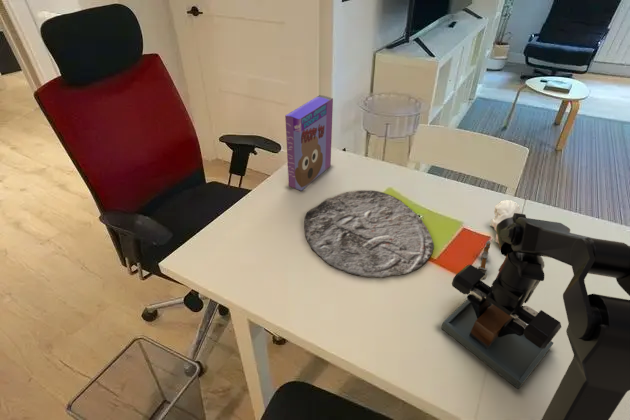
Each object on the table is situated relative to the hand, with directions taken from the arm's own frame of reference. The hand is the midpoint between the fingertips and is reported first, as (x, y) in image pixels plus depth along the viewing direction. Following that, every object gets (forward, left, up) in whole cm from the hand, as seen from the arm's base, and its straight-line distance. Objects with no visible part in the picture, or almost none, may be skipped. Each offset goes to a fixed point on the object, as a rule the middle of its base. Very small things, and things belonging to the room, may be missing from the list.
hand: (490, 328), depth 75 cm
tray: (-2, 0, -2) cm, 2 cm away
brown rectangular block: (0, 0, -1) cm, 1 cm away
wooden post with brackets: (+11, -17, -2) cm, 21 cm away
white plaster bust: (+13, -30, -2) cm, 33 cm away
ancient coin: (+37, -4, -2) cm, 38 cm away
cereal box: (+68, -9, -2) cm, 69 cm away
